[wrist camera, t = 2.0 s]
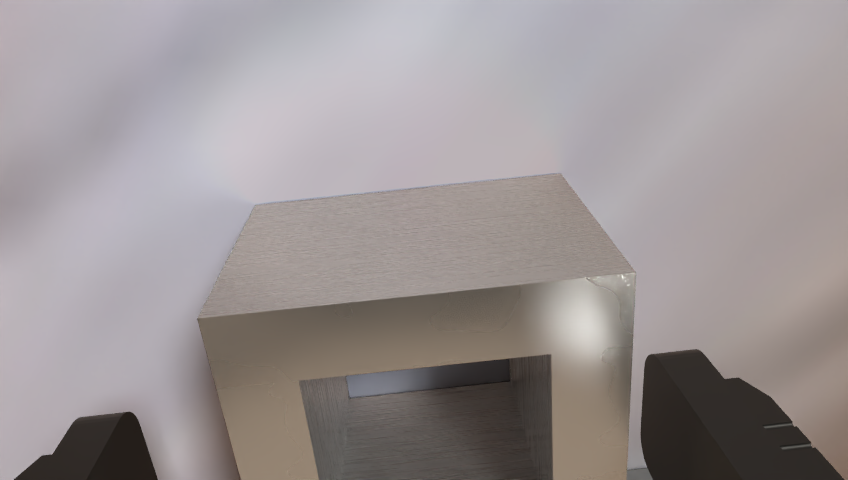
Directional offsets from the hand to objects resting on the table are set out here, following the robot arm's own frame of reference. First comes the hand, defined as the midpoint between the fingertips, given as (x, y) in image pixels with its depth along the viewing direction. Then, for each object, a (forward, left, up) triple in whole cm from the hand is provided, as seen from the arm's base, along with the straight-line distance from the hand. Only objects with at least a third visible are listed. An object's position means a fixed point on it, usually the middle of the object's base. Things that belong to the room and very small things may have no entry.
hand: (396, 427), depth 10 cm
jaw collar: (-1, 0, -3) cm, 3 cm away
